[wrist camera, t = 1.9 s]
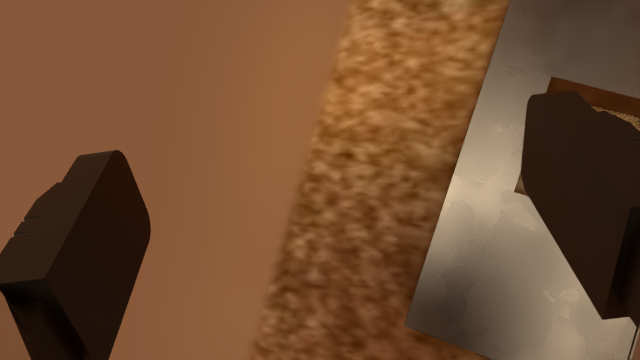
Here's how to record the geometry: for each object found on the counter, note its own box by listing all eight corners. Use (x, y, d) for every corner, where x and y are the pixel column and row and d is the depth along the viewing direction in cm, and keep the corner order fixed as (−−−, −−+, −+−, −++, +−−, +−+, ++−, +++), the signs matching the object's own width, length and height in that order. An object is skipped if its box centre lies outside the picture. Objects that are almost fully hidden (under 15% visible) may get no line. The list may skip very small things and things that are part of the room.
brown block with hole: (528, -57, 30) (539, -88, 27) (767, -10, 27) (807, -39, 24) (407, 316, 30) (403, 325, 27) (636, 402, 27) (661, 423, 24)
